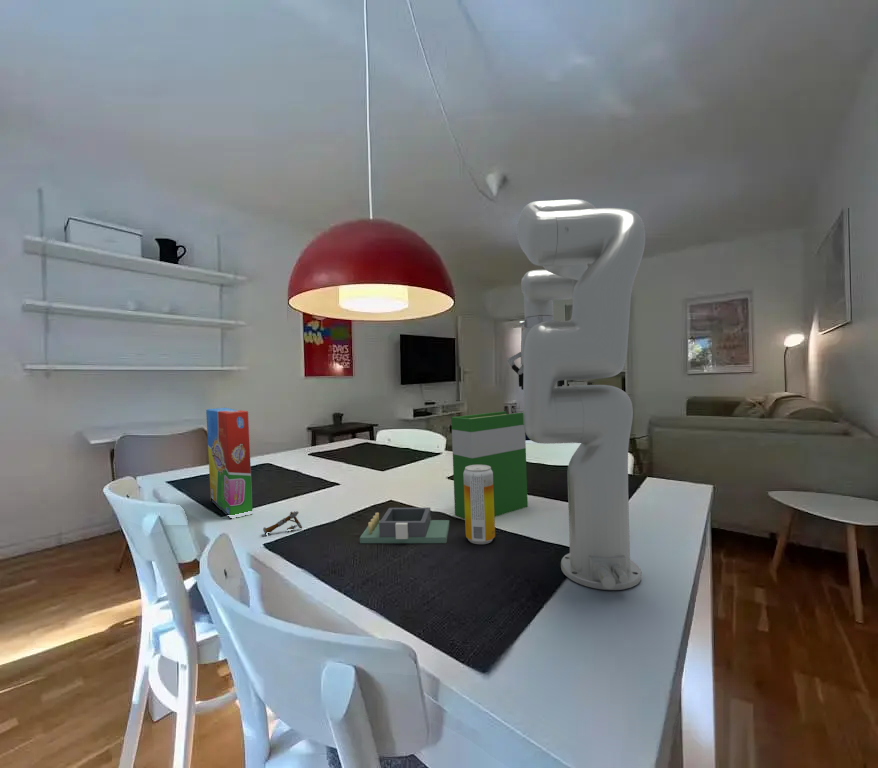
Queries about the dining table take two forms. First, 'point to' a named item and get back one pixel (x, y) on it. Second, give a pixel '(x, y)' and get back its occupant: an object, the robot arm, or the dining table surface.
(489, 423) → the green cereal box
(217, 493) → the game box
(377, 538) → the header board
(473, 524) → the beer can
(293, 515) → the wooden post with brackets
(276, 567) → the dining table surface
